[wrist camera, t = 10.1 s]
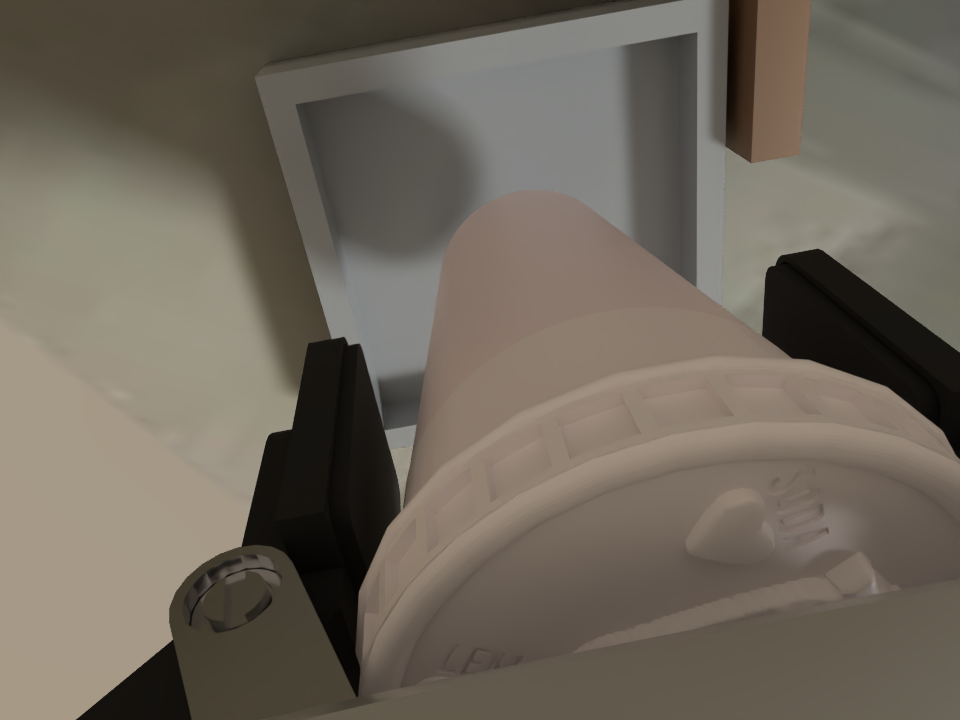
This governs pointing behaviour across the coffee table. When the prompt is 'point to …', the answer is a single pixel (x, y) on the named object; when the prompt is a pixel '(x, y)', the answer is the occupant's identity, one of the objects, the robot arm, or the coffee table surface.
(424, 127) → the tray
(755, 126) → the brown parallel rails
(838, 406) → the smoothie
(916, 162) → the coffee table surface
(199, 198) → the coffee table surface
